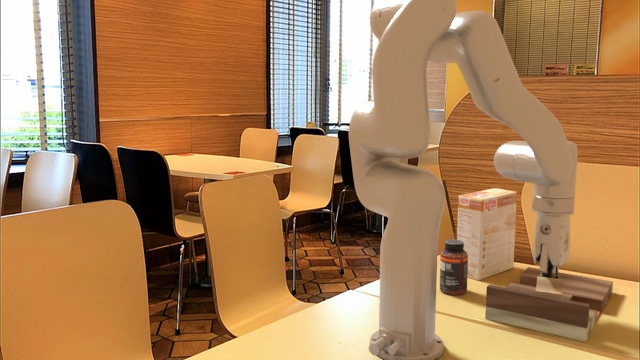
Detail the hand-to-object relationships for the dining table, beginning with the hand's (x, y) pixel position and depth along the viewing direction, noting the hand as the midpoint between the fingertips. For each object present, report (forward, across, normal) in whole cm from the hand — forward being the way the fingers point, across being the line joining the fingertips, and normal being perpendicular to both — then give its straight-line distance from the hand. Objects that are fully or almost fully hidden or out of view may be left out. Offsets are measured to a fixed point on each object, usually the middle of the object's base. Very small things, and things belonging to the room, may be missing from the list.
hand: (547, 295), depth 112 cm
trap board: (+4, +5, 0) cm, 7 cm away
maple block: (0, -3, -1) cm, 4 cm away
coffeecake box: (+4, +19, +19) cm, 27 cm away
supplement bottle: (+4, +1, +20) cm, 21 cm away
